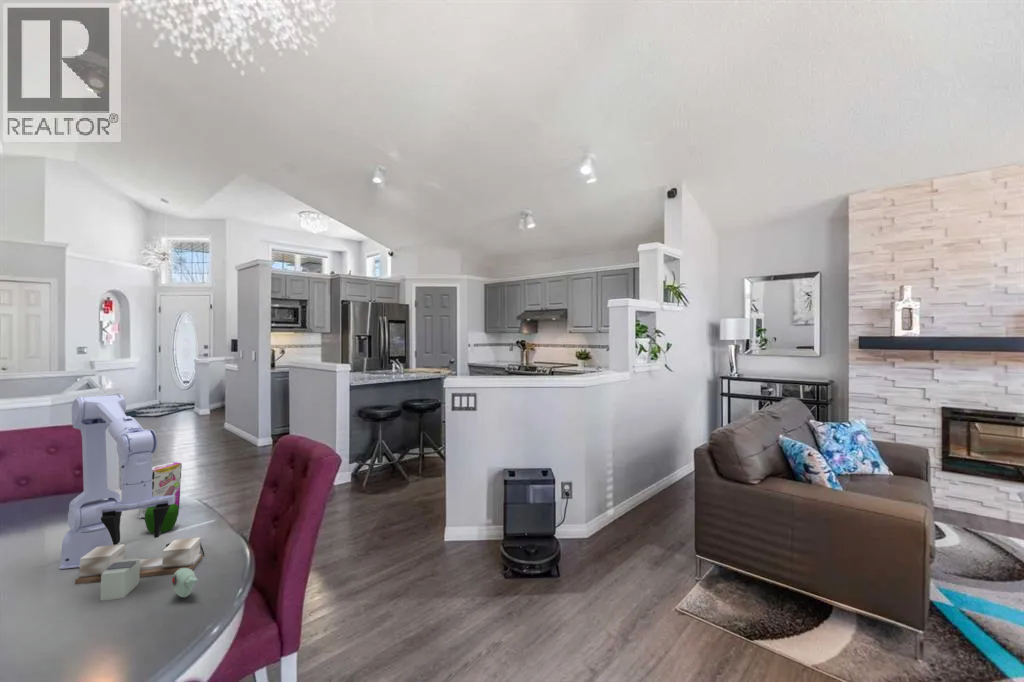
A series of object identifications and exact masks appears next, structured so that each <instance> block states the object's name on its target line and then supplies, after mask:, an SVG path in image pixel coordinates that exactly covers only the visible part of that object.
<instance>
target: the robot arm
mask: <svg viewBox="0 0 1024 682" xmlns="http://www.w3.org/2000/svg"><path fill="white" fill-rule="evenodd" d="M126 407H127V402H126V398H125V396H123V395H122V394H119V393H118V394H112V395H111V394H110V395H99V396H98V395H97V396H96V395H94V396H93V395H92V396H77V397H75V398H74V399H73V401H72V406H71V423H72V428H73V429H77V430H79V431H80V434H81V443H82V444H81V446H82V448H81V449H82V450H81V451H82V483H83V491H82V492H80V494H78V495H77V496H76V497H74V498H73V499H72V500H71V501H70V502H69V505H68V507H69V508H68V513H67V524H68V528H69V529H68V531H66V533H65V534H64V536H63V539H62V543H61V556H60V557H61V558H60V559H61V563H60V566H59V567H58V569H59V570H63V569H64V570H65V569H73V568H74V569H75V568H80V558H82V557H83V556H85V555H86V554H88V553H89V552H90V551H92V550H93V549H95V548H96V547H99V546H110V545H119V543H120V541H121V528H120V527H121V517H122V515H123V512H124V511H132V510H140V508H147V507H154V506H156V508H154V509H153V514H154V533H153V539H157V538H159V537H160V536H161V532H160V531H161V527H162V523H163V520H164V518H165V516H166V513H167V511H168V509H169V507H170V505H171V504H174V503H175V495H168V496H156V497H152V467H153V453H155V452H156V451H157V447H158V438H157V437H158V436H157V434H156V432H155V430H153V429H144V428H143V426H141V424H140V423H139V422H138V421H137V419H136V418H134V417H132V416H131V415H127V414H126V413H125V412H126V410H127V409H126ZM107 430H108V433H109V435H110V436H111V437H112V438H113V440H114V441H115V442H116V452H117V456H118V463H119V465H120V466H121V469H120V470H121V480H120V481H121V485H120V486H121V488H120V489H121V493H119V491H116V490H115V489H111V488H109V487H108V468H107V467H108V464H107V463H108V462H107V439H106V437H107V435H106V432H107ZM120 494H121V495H120ZM120 496H121V497H120ZM142 505H143V506H142Z"/></svg>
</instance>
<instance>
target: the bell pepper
mask: <svg viewBox="0 0 1024 682" xmlns="http://www.w3.org/2000/svg"><path fill="white" fill-rule="evenodd" d="M154 508H156V506H154V507H148V508H147V509H146V512H145V519H144V522H145V527H146V529H147V531H148V532H149V533H150V534H154V514H153V509H154ZM179 511H180V506H179V507H178V505H176V504H175V503H174V504H171V505H170V507H169V509H168V511H167V513H166V516H165V518H164V520H163V523H162V527H161V531H160V533H166V532H169V531H171V530H173V529H174V527H175V525H176V523H177V520H178V517H179V514H180V513H179ZM172 528H173V529H172ZM170 529H171V530H170ZM168 530H169V531H168ZM165 531H166V532H165Z"/></svg>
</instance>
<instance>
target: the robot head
mask: <svg viewBox="0 0 1024 682" xmlns="http://www.w3.org/2000/svg"><path fill="white" fill-rule="evenodd" d="M172 575H173V576H172V579H171V583H172V584H171V585H172V589H173V591H174V593H176V595H177V596H179V597H180V598H187V597H188V596H190V595H191V593H192V590H193V589H194V585H195V584H196V583H197V582H198V581H199V579H198V578H197V577H196V573H195V572H194V571H193V570H191V569H188V568H181V569H179V570H177V571H176V572H175V574H172Z"/></svg>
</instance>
